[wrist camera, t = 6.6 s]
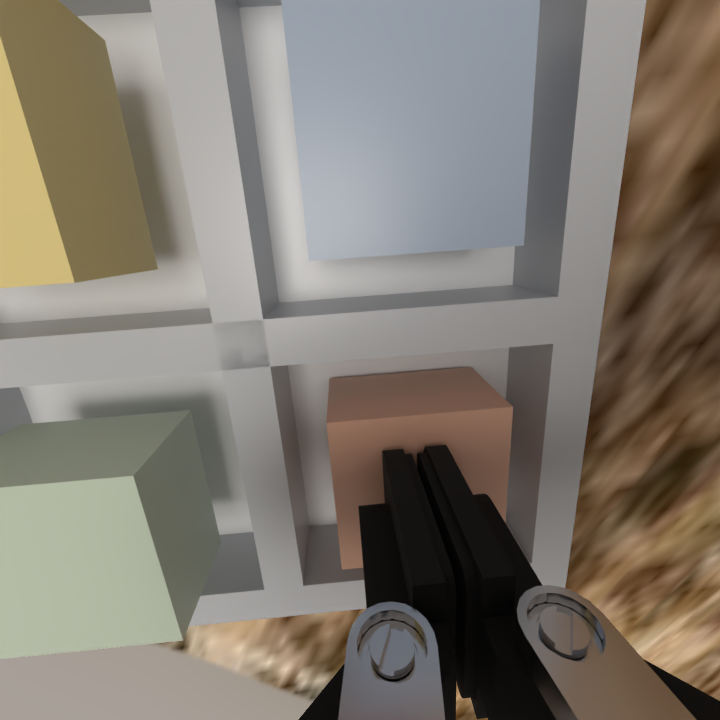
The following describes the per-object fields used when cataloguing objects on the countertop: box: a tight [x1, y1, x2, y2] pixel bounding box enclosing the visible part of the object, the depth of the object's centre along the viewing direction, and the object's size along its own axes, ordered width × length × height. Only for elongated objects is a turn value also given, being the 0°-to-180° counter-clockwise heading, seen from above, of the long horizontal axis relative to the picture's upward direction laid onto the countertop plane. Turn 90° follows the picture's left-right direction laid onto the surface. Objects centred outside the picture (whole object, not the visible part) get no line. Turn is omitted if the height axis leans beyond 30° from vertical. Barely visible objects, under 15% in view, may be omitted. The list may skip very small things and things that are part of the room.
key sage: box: [0, 410, 221, 659], centre depth 9 cm, size 5×5×3 cm
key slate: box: [281, 0, 540, 261], centre depth 9 cm, size 5×5×3 cm
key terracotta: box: [326, 367, 513, 570], centre depth 11 cm, size 5×5×3 cm
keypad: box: [0, 0, 646, 626], centre depth 11 cm, size 18×18×4 cm
